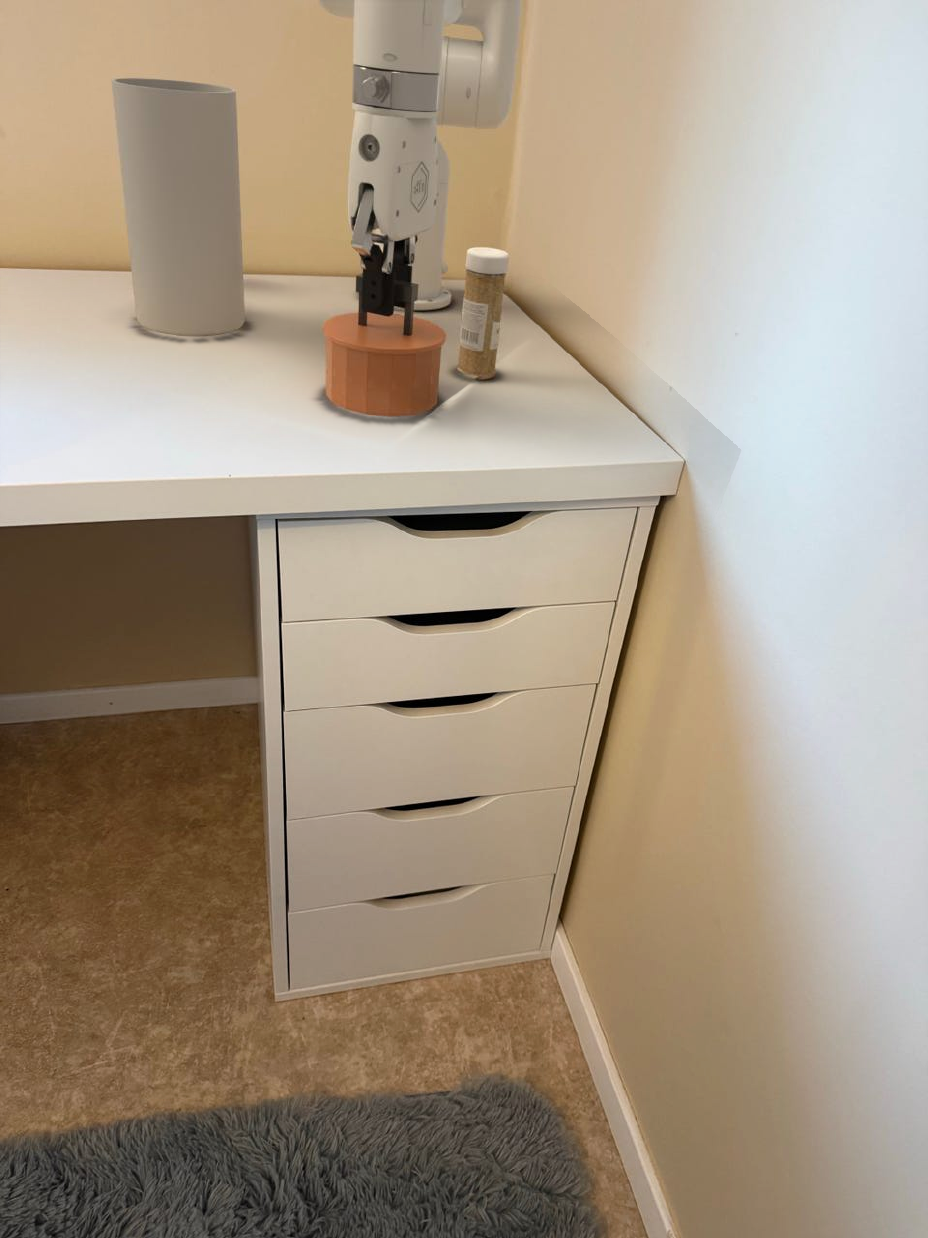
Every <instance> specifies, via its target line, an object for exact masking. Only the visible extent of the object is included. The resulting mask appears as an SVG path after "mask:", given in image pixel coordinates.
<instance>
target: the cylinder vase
mask: <svg viewBox="0 0 928 1238" xmlns="http://www.w3.org/2000/svg"><path fill="white" fill-rule="evenodd" d="M111 90H112V98H113V99H112V100H113V110H114V118H115V127H116V137H117V145H118V155H119V166H120V174H121V184H122V194H123V203H124V212H125V223H126V233H127V243H128V248H129V249H128V251H129V260H130V271H131V278H132V289H133V297H134V307H135V317H136V320H137V322H138V324H139V325H140V326H142V327H143V328H146V329H148V330H150V331H153V332H157V333H162V334H165V335H173V336H182V337H183V336H185V337H186V336H187V337H188V336H189V337H204V336H205V337H206V336H214V335H215V336H216V335H223V334H227V333H228V334H229V333H231V332H234V331H237V330H240V329H241V328H242V327H243V326H244V324H245V322H246V314H245V290H244V289H245V288H244V284H245V283H244V264H243V263H244V262H243V242H242V241H243V237H242V236H243V235H242V213H241V212H242V211H241V210H242V209H241V208H242V207H241V188H240V187H241V186H240V183H241V182H240V162H239V160H240V159H239V137H238V136H239V135H238V134H239V133H238V111H237V90H236V89H234V88H231V87H227V86H222V85H217V84H210V83H202V82H194V81H185V80H174V79H161V78H143V77H118V78H112V79H111Z"/></svg>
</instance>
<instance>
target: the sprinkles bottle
mask: <svg viewBox="0 0 928 1238" xmlns="http://www.w3.org/2000/svg"><path fill="white" fill-rule="evenodd" d="M509 255H510V254H509V253H508V252H506V251H505V250H502V249H498V248H493V247H485V246H479V247H478V246H477V247H470V248H468V249H467V251H466V256H465V268H466V270H465V272H466V275H465V285H464V295H463V298H462V299H463V300H462V310H461V311H462V312H461V323H460V335H459V352H458V353H459V354H458V363H457V364H458V365H457V367H456V369H457V370H458V372H460V373H462V374H465V375H468V376H474V377H476V378H475V380H476V381H477V380H483V381H484V380H490V379H492V378H493V377H495V376H496V373H497V371H496V364H497V355H498V354H497V353H498V347H499V340H500V330H501V323H502V321H501V320H502V311H503V296H504V289H505V288H504V287H505V280H506V279H505V278H506V275H507V272H508V270H509V262H510V261H509V260H510V256H509Z"/></svg>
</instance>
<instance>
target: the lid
mask: <svg viewBox="0 0 928 1238" xmlns="http://www.w3.org/2000/svg"><path fill="white" fill-rule="evenodd" d="M362 278H363V273H360V274H357V275H355V293H358V312H351V313H344V314H339V315H336V316H332V317H330V318H328V319H327V320H325V321H324V323H323V325H322V333H323V335H324V336H325V338H326V337H327V338H328V339H330V340H331V341H333V342H335V343H337V344H339V345H342V346H345V347H348V348H352V349H356V350H361V351H366V352H373V353H383V354H414V353H422V352H427V351H431V350H434V349H437V348H439V347H441V348H442V347H443V346H444V344H446V340H447V334H446V331H445V330H444V329H443V328H442V327H440V326H439V325H438V324H435V323H434V322H431V321H429V320H426V319H423V318H418V317H416V316H414V311H415V310H414V302H415V301H417V299H418V284H415V283H410V282H405V281H400V280H395V297H394V300H397V301H401V302H405V309H404V314H400V313H393V315H391V316H389V317H387V316H383V315H378V314H373V313H368V312H364V311H363V310H362Z"/></svg>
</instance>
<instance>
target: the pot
mask: <svg viewBox="0 0 928 1238" xmlns="http://www.w3.org/2000/svg"><path fill="white" fill-rule="evenodd" d="M441 355H442V346H441V347H439V348H437V349H434V350H431V351H427V352H422V353H414V354H383V353H373V352H366V351H361V350H356V349H352V348H348V347H345V346H342V345H339V344H337V343H335V342H333V341H331V340H330V339H328V338H327V337H326V336H325V396H326V397H327V398H328V399H329V401H330V402H331V403H332V404H334V405H337V406H338V407H340V408H342V409H345V410H347V411H352V412H355V413H359V414H362V415H368V416H378V417H379V416H380V417H402V416H414V415H418V414H420V413H421V414H422V413H425V412H428V411H429V410H431V409H432V408H434V407H435V406H436V405H437V404H438V394H439V381H440V368H441V357H442V356H441ZM434 411H435V408H434V409H433V410H431V411H430V412H429V413H428V415H430V414H432V413H433V412H434Z"/></svg>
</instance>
